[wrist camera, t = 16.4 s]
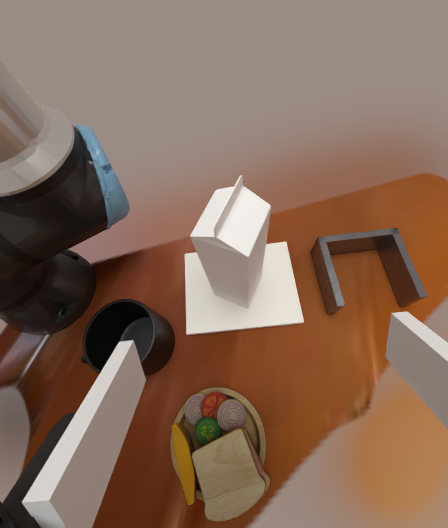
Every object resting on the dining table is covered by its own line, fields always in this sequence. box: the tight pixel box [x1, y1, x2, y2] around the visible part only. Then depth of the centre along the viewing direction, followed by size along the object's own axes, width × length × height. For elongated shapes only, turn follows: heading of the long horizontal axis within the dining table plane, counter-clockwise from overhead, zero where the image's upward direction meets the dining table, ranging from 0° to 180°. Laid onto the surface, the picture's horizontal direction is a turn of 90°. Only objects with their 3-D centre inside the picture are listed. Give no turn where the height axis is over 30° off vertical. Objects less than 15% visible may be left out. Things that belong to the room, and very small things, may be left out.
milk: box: [190, 175, 271, 309], centre depth 30 cm, size 6×6×22 cm
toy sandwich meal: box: [171, 387, 271, 522], centre depth 31 cm, size 12×14×5 cm
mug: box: [81, 299, 174, 376], centre depth 35 cm, size 9×12×9 cm
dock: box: [311, 228, 428, 314], centre depth 38 cm, size 12×11×5 cm
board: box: [185, 242, 304, 335], centre depth 41 cm, size 18×14×1 cm
